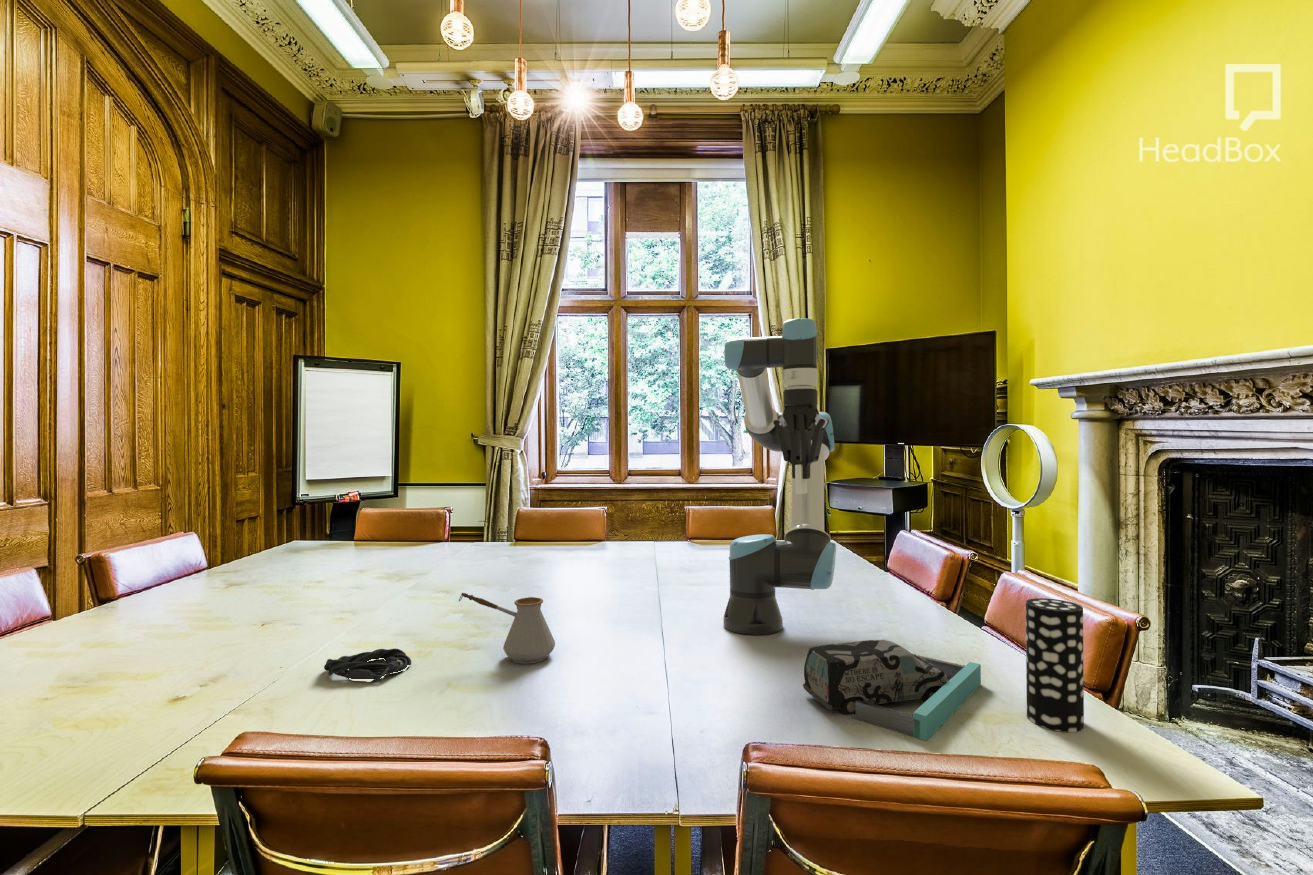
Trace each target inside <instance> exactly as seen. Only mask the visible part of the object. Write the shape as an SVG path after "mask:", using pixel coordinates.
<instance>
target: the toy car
mask: <svg viewBox="0 0 1313 875" xmlns="http://www.w3.org/2000/svg"><path fill="white" fill-rule="evenodd" d="M803 675H804V676H803V677H804V678H803V679H804V683H803V684H802V687H803V689H804V691H806V692H807V693H808V694H809V695H810V696H812V698H814V699H815V700H816V701H817V702H818V703H819V704H821V705H822V706H823V707H825V709H827V710H830V711H832V709H839V711H840V712H841V714H842V715H846V716H850V715H856V707H855V702H856V701H857V700H861V701H864V702H867V703H871V704H874V705H880V704H889V703H897V702H902V701H909V700H917V699H919V700H921V702H922V704H924V703H925V702H926V701H927V700H928V699H929V698H930V697H931V696H932V695H934V694H935V693H936V692H937V691H938V690H939V689H940V688H941V687H942V686H944V685H945V684H946V683H947V682H948V678H947V675H946V674H945V673H944V672H943V671H942V670H940V669H939V668H937V667H936V666H934V665H933V664H931V663H929V662H928V661H926V660H924V659H922V658H920V657H918V655H917V654H914V653H911V652H910V651H909V650H908V649H906V648H905V647H903V646H901V645H900V644H898V643H895V642H893V641H890V640H887V639H876V640H875V639H874V640H873V639H869V640H858V641H857V640H856V641H847V642H840V643H832V644H824V645H817V646H811V647H810V648H809V649H808V652H807V655H806V659H805V663H804V667H803Z"/></svg>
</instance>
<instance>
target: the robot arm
mask: <svg viewBox="0 0 1313 875" xmlns="http://www.w3.org/2000/svg"><path fill="white" fill-rule="evenodd" d="M724 344H725V345H724V349H723V351H724V354H723V355H724V364H725V367H726V368H727V369H729V370H734V371H736V373H737V378H738V382H739V383H738V384H739V388H740V393H741V396H742V402H743V405H744V411H745V413H744V416H743V422H744V425H745V426H744V427H745V430H746V431H747V434H748V435H749V436H750V438H752V440H753V441H754V442H755V443H757V444H759V445H760V446H761V447H763V448H765V449H766V450H770V451H773V452H777V453H780V452H781V453H782V456H783V461H784V462H787V463H790V464H791V504H790V506H791V508H790V530H788V531H787V532H786V533H785V535H784V539H783V540H782V541H781V540H779V541H778V540H776V537H775V535H773V534H768V533H767V534H764V533H763V534H759V533H758V534H752V535H750V534H749V535H746V536H742V537H741V536H740V537H738V538H735V539H734V540H732V541H731V543H730V544H729V557H728V560H729V598H728V601H727V603H726V604H727V605H726V608H725V611H724V614H723V627H724V629H726V630H728V631H730V632H733V633H736V634H740V635H742V634H743V635H750V636H752V635H753V636H754V635H755V636H759V635H761V636H762V635H770V634H775V633H777V632H780V631H782V629H783V627H784V626H783V624H784V623H783V616H782V613H781V610H780V607H779V603H778V601H777V600H778V599H777V598H776V588H783V589H784V588H785V589H800V590H801V589H802V590H804V589H805V590H812V591H814V590H828V589H829V588H830V587H832V584H833V581H834V576H835V575H834V574H835V569H836V568H835V565H836V556H837V544H836V543H834V542H833V541H832V542H831V536H830V535H829V533H827V532H826V531H825V461H826V460H827V459H828V458H829V456H830V453H831V452H834V450H835V435H834V427H833V421H832V418H831V415H830V414H829V413H828V412H825V411H819V409H818V404H819V402H818V390H817V389H816V387H818V354H819V348H818V330H817V322H816V320H814V319H812V318H792V319H787V320H786V321H784V322H783V324H782V334H781V335H780V336H779V335H778V336H775V335H774V336H759V337H758V336H757V337H756V336H755V337H739V338H738V337H737V338H730V339H728V340H726V341H725V343H724ZM771 368H772V369H773V368H775V369H776V368H782V379H783V382H782V386H783V388H785V389H783V391H782V396H783V398H782V399H783V402H782V403H783V411H782V412H777V411H776V409H774V407H773V401H772V394H771V389H770V383H769V375H768V370H767V369H771Z"/></svg>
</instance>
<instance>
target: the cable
mask: <svg viewBox="0 0 1313 875" xmlns="http://www.w3.org/2000/svg"><path fill="white" fill-rule="evenodd" d="M379 658H384V659H385V660H386V661H387V662H386V661H385V662H386V663H382V662H381V663H379V662H378V663H377V662H374V663H373V662H367V661H369V660H371V659H378V660H379ZM407 665H412V660H411V657H409V656H408V655H407V654H406V652H404V650H402V649H399V648H389V649H385V648H378V649H375V650H373V651H364V652H360V653H356V654H353V655H342V656H340V657H339V658H338V659H332V658H328V659H326V662H325V664H324V666H323V669H324V671H328V675H335V676H339V677H342V678H346V679H347V678H348V679H349V678H351V679H380V678H381V677H382V676H384V675H385V674H390V673H393V672H398V671H401V670H403V669H405V668H406V667H407ZM385 676H386V675H385ZM348 679H347V680H348Z"/></svg>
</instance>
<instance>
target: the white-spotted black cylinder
mask: <svg viewBox="0 0 1313 875" xmlns="http://www.w3.org/2000/svg"><path fill="white" fill-rule="evenodd" d="M1025 657H1026V658H1025V663H1026V665H1025V667H1026V669H1025V671H1026V673H1025V674H1026V677H1025V679H1026V681H1025V684H1026V685H1025V686H1026V717H1027V719H1028V720H1029V721H1030V722H1031V723H1032V724H1035V725H1037V726H1039V727H1042V728H1044V729H1048V730H1052V731H1056V732H1063V733H1077V732H1081V731H1082V730H1084V728H1085V717H1084V716H1085V702H1084V700H1085V699H1084V698H1085V691H1084V688H1085V687H1084V684H1085V683H1084V680H1085V679H1084V678H1085V677H1084V675H1085V674H1084V670H1085V669H1084V607H1083V606H1082V605H1080V604H1078V603H1075V602H1071V601H1067V600H1061V599H1056V598H1041V597H1039V598H1029V599H1027V600H1026V601H1025Z"/></svg>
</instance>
